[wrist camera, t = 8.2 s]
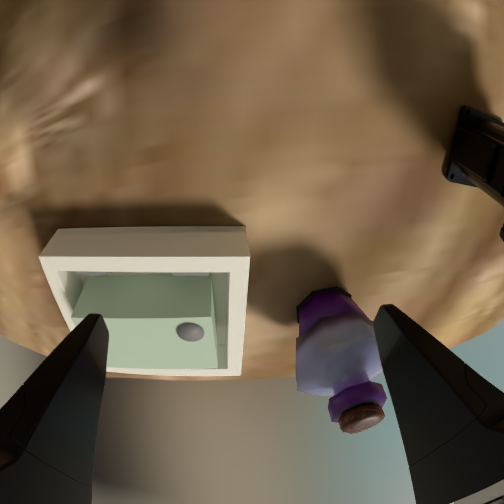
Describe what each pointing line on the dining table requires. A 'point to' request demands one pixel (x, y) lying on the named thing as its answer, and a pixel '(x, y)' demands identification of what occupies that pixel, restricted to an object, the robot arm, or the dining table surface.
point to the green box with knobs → (154, 319)
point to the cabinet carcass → (159, 262)
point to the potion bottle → (339, 358)
